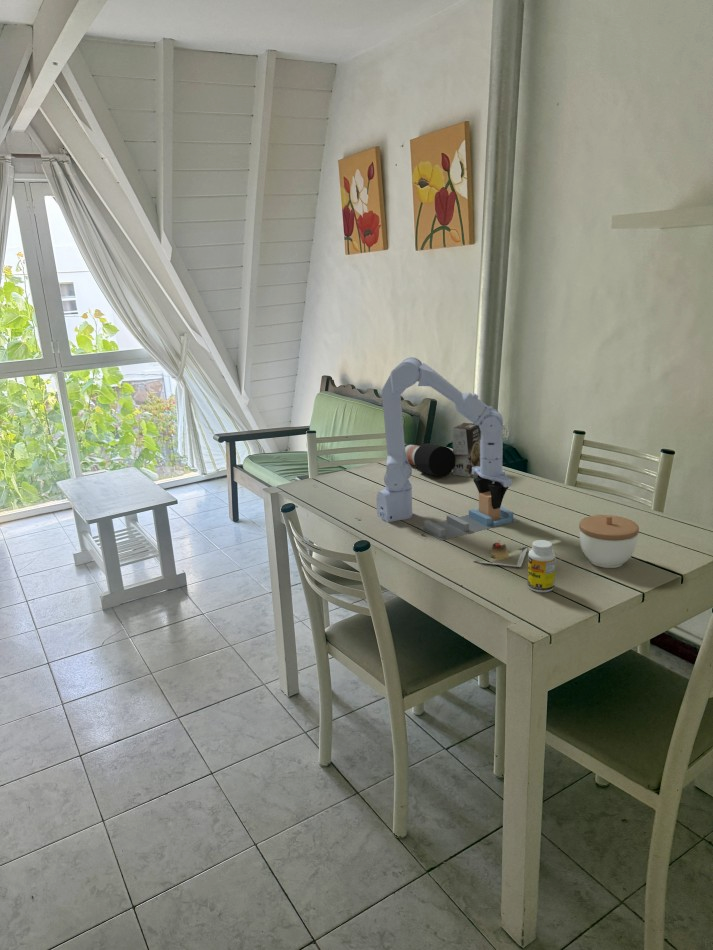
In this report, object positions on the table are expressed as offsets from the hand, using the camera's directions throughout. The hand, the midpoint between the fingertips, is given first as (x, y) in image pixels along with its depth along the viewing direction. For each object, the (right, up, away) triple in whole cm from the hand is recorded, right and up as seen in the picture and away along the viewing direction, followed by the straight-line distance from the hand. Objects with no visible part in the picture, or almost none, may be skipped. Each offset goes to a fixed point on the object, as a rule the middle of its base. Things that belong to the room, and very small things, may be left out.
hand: (490, 505), depth 179 cm
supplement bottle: (+3, -16, -37) cm, 40 cm away
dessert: (-2, -12, -20) cm, 23 cm away
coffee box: (+1, +9, +44) cm, 45 cm away
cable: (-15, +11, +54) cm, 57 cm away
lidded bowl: (+21, -12, -26) cm, 36 cm away
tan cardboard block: (0, -4, +1) cm, 4 cm away
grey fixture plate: (-6, -5, -2) cm, 8 cm away
